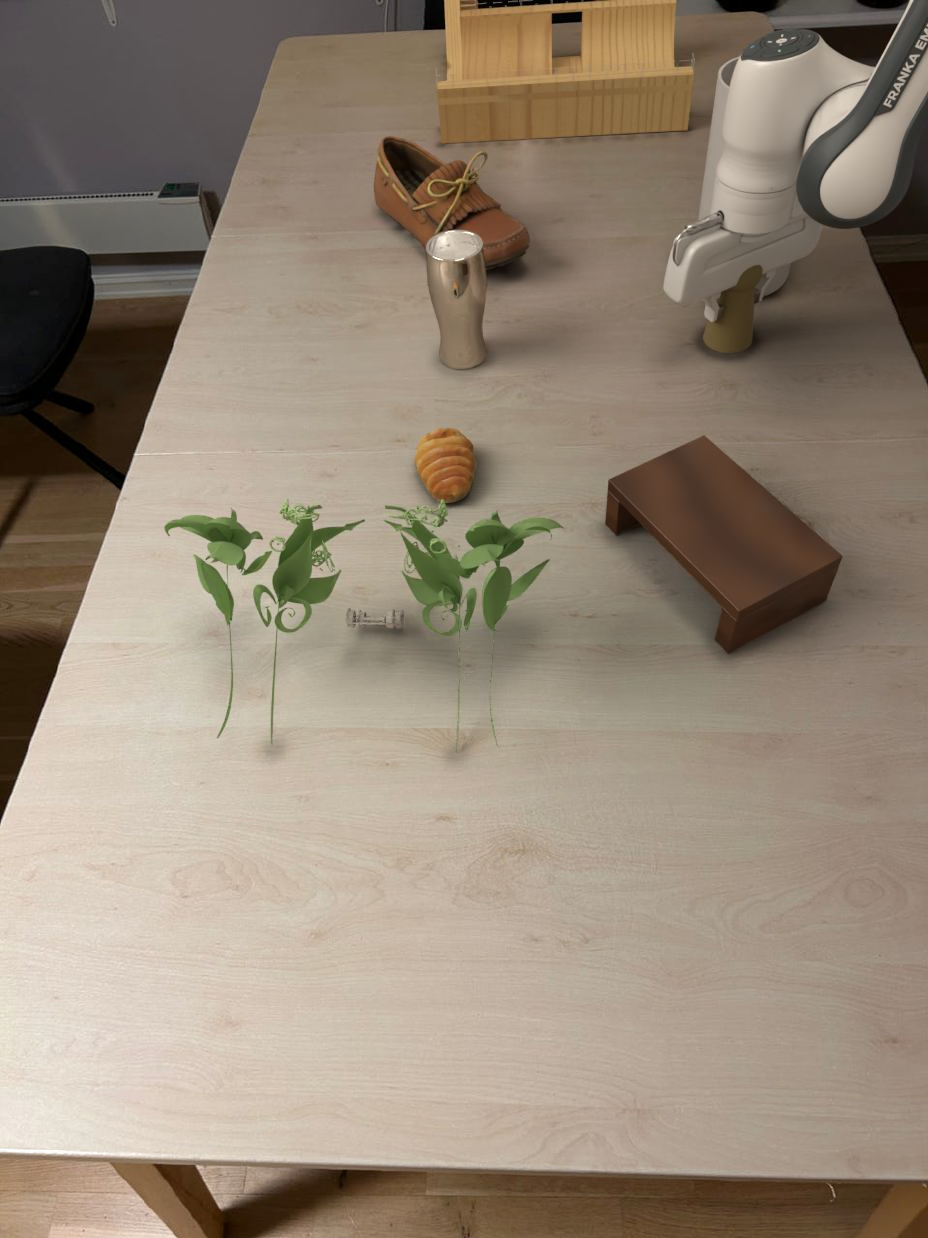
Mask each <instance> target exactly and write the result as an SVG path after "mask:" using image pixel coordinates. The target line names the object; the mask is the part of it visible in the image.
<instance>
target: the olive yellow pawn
mask: <svg viewBox="0 0 928 1238" xmlns="http://www.w3.org/2000/svg"><path fill="white" fill-rule="evenodd" d="M762 272H763V270H762V267H761V266H760V265H755V266H752V267H750V268H748V269H747V270H745V271H744V272H743V273H742V275H741V276H740V278H739V280H738V282H737V285H736V286H734V287H732V288H729V289H727V290H724V291H722V292H721V295H720V298H718V299H716V301H718V302H719V304H722V305H723V306H725V308H724V312H723V317H722V318H721V319H718V320H716V321H714V322H710V321H709V320H708V319H707V322H706V326H705V328H704V331H703V335H702V341H703V342H704V345H706V347H708V348H709V349H711V350H713V351H715V352H718V353H723V354H736V353H740V352H743V351H746V350H747V349H748V348H749V347H750V346H751V345H752V343H753V340H754V339H753V337H754V318H755V304H754V298H755V286H756V285H757V284H758V283H759V281H760V279H761V276H762Z"/></svg>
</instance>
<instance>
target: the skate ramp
mask: <svg viewBox="0 0 928 1238" xmlns="http://www.w3.org/2000/svg"><path fill="white" fill-rule="evenodd" d="M443 1H444V20H445V21H444V23H445V24H444V25H445V46H446V47H445V48H446V49H445V51H446V80H439V76H440V74H435V85H436V95H437V96H436V97H437V98H436V99H437V107H438V108H437V109H438V119H439V129H440V130H439V131H440V140H441V144H458V143H459V144H460V143H477V142H478V143H480V142H495V141H496V142H497V141H514V140H533V139H534V140H535V139H549V138H550V139H552V138H571V137H586V136H589V137H591V136H605V135H623V134H624V135H625V134H627V135H628V134H643V133H661V132H662V133H663V132H664V133H665V132H680V131H689V120H690V112H691V105H692V104H691V103H692V98H693V97H692V96H693V89H694V83H695V81H694V80H695V72H694V71H695V64H696V63H695V62H696V59H695V56H694V53H692V55H691V58H693V60H691V63H690V65H689V66H675V23H676V11H677V3H678V0H593V1H579V2H564V3H553V0H550V3H549V4H547V3H546V4H533V5H532V4H531V5H522V3H519V4H520V5H517V6H502V7H487V8H486V7H485V8H479V5H483V4H484V5H485V4H486V2H483V3H481V2H480V3H479V2H478V0H443ZM530 1H532V0H524V2H530ZM512 2H513V3H515V2H517V0H512V1H509V3H512ZM520 2H523V0H520ZM497 3H498V4H499V3H501V1H499V2H498V1H496V2H494V4H497ZM578 12H581V34H580V35H581V37H580V42H581V43H580V55H573V56H571V55H570V56H558V57H557V56H556V57H555V56H554V57H553V56H552V55H553V52H552V51H553V44H552V43H553V39H552V37H553V35H552V33H553V32H552V31H553V27H552V25H553V24H552V22H553V21H552V20H553V15H552V14H562V13H563V14H564V13H578ZM686 61H688V62H689V59H684V60H683V59H681V60H680V62H686ZM435 69H436V70H435V73H438V68H435Z"/></svg>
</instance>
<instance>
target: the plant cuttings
mask: <svg viewBox="0 0 928 1238" xmlns="http://www.w3.org/2000/svg"><path fill="white" fill-rule="evenodd" d="M415 507H416V509H414V508H409V509H405V508H403V507H400V506H395V505H386V504H385V505H384V508H385V510H395V511H400V512H403V513H402V514H399V515H397V514H391V513H388V514H387V517H389V518H394V519H398V520H399V519H400V520H405V523H406V525H407V526H403V525H402V524H400V523H395V522H392V521H389V520H386V519H383V522H384V523H386V524H388V525H390V526H391V527H392V528H394V529H395V531H396V532H400V535H401V538H402V540H403V541H402V542H403V543H404V545H405V548H406V554H405V557H404V560H403V568H404V571H405V572H404V571H403V570H401V571H400V572H401V573H402V575H403V578H404V579H405V581H406V583H407V585H408V587H409V589H410V591H411V593H412V595H413V597H414V598H415V599H416V601H417V602H418V603H420V604H422V605H424V607H423V608H422V610H421V619H422V621H423V623H424V624H425V626H426V627H427V628H428V630H430V631H431V632H433V633H434V634H436V635H438V636H441V637H450V636H453V635H456V634H457V633H458V683H457V684H458V687H457V688H458V689H457V693H458V694H457V727H456V746H455V747H456V748H455V753H457V751H458V741H459V730H460V729H459V727H460V697H461V695H460V689H461V687H460V686H461V685H460V684H461V629H462V627H464V629H465V631H466V632H467V631H468V630H469V628H470V624H471V619H472V617H473V614H474V611H475V608H476V604H477V598H478V593H477V589H476V587H471V588H470V589H468V590H467V592H466V594H465V596H464V597H463V600H462V596H463V584H462V582H461V580H460V577H461V578H463V579H467V580H468V579H470V578H471V576H472V575H473V574H474V573H475V574H476V573H477V571H478V569H479V567H480V566H481V565H482V566H483V567H486V564H487V563H489V562H493V561H494V563H495V566H496V567H494V568H493V569H491V570H490V571H489V573H488V574H487V575H486V577H485V579H484V582H483V586H482V593H481V606H482V613H483V619H484V623H485V624H486V627H487V628H488V629H489V630H491V631H493V635H495V634H496V633H499V631H498V630H497V628H496V625H497V624H498V623H499V621H500V620H501V619H502V618H503V617H504V615H505V614H506V612H507V610H508V608H509V607H508V602H511V601H514V600H516V599H518V598H520V597H521V596H522V595H523V594H524V593H525V592H526V591H527V590H528V589H529V588H530V587H531V585H532V584H533V583H534V582H535V581H536V579H537V578H538V576H539V575H540V574H541V572H542V571H543V570H544V568H545V567H546V566H547V564H548V563H549V562H550V561H551V559H550V558H548V559H546V560H544V561H542V562H541V563H539V564H538V565H535V566H534V567H533V568H531V569H530V570H528V571H527V572H526V573H524V574H522V575H521V576H520V577H519V578H517V579H516V580H515V581H514V582H513V578H512V573H511V570H510V569H509V567H507V566H504V565H502V566H501V563H502V559H505V558H506V557H509V556H510V555H512V554H515V553H516V552H517V551H518V550H520V549H521V548H522V547H523V545H524V543H525V540H524V539H526V538H529V537H532V536H535V535H538V534H540V533H544V532H547V533H550V539H549V540H550V541H552V537H553V535H552V532H551V531H552V530H555V529H562V530H563V529H564V526H563V525H562V524H560V523H559V522H557V521H556V520H554V519H551V518H548V517H530V518H526V519H523V520H520V521H518V522H516V523H514V524H512V525H511V526H509V528H508V527H507V526H506V525H505V524H503V522H502V521H501V518H500V515H499V510H496V511H495V512H493V513H492V514H491V515H490V518H486V519H481V520H479V521H477V522H476V523H475V524H473V525H472V526H471V527H469V529H468V530H467V531H466V533H465V534H464V535H465V536H464V537H465V540H466V542H467V543H468V545H469V546H470V547H472V549H470V550H468V551H466V552H465V553H464V554H463V555H462V556H461V557H460V560H459V558H458V556H457V554H455V557H453V556H452V554H451V552H450V550H449V548H448V546H447V543H446V542H445V540H443V539H440V538H439V537H438V536H436V535H435V534H434V529H432V530H431V531H430V530H429V529H428V528H427V527H426V526H425V525H429V526H430V525H431V526H432V527H434V528H440V527H442V526H443V525H445V522H446V523H448V519H447V518H446V517H447V516H449V512H448V509H447V505H446V503H444V500H443V499H442V501H441V503H440V504H438V507H437V508H435V509H432V508H431V506H429V505H427V504H424V505H422V506H421V507H419V506H418V505H416V506H415ZM426 508H427V509H428V510H427V509H426ZM321 509H323V507H322V505H321V504H315V505H312V506H310V504H309V505H307V507H305V506H304V505H302V504H300V503H299V504H296V505H294V507H292V508H291V507H290V505H289V498H286V499H285V502H284V503H283V504H282V507H281V509H280V510H279V514H280V515H281V518H282V520H283V519H284V520H285V521H290V523H291V524H293V525H295V526H296V528H295V529H293V532H292V533H291V535H290V536H289V537H288V538H287V540H286V539H285V537H283V536H275V537H272V538H271V539H270V540H269V547H270V549H271V550H268V551H265V552H264V554H262V555H260V556H258V557H257V558H255V559H254V560H253V561H252V562H251V563H250V565H249V566H248V567H247V569H246V568H245V565H246V562H247V561H246V560H247V555H246V551H245V550H246V549H248V547H249V546H250V544H251V543H252V540H260V541H261V540H262V541H263V540H264V538H263V536H262V534H261V532H260V531H258V530H255V531H252V532H250V531H248V530H247V529H246V527H244V526H243V525H242V524H241V523H240V522H239V521H238V515H237V512H236V510H234V509H233V508H232V507H230V510H231V513H230V517H229V516H228V517H227V516H220V517H216V518H213V517H211V516H208V515H201V514H190V515H186V516H183V517H181V518H177V519H172V520H170V521H168V522H167V523H166V524H165V525H164V531H165V533H166V534H167V536H168V537H171V534H169V531H170V530H171V529H176V528H180V529H183V530H185V531H188V532H190V533H192V534H194V535H197V536H199V537H201V538H203V539H205V540H208V543H207V546H206V547H207V551H208V553H209V554H208V555H207V556H206V557H205V560H204V559H202V558H201V557H200V556H198V555H197V554H193V557H194V559H195V563H196V564H195V565H196V570H197V575H198V579H199V581H200V584H201V587H202V588H203V589H204V590H205V592H206V593H208V594H210V595H211V596H212V598H213V600H214V601H215V605H216V607H217V609H218V610H219V611H220V612H221V613H222V614H223V616H224V619H225V622H226V627H229V630H231V621H232V622H233V615H234V607H235V600H234V596H233V594H232V592H231V589H230V587H229V579H228V577H229V573H228V572H229V566H236V569H237V570H240V573H241V576H247V575H250V574H254V573H257V572H259V571H260V570H261V569H263V567H264V566H265V564H266V562H267V561H268V560H269V558H270V557H271V555H272V553H273V551H274V552H277V553H280V554H279V558H278V563H277V568H276V569H275V571H274V572H273V575H272V580H271V581H272V583H271V585H272V588H273V590H274V593H275V595H276V597H277V600H276V598H275V596H274V594H273V592H272V591H271V590H270V589H269V588H268V586H266V585H263V584H260V583H259V584H256V585H255V586H254V587H253V591H252V596H253V602H254V605H255V607H256V610H257V612H258V614H259V616H260V618H261V621H262V623H263V624H264V626H265V627H266V628H268V627H269V626H270V624H271V623H272V613H271V611H270V609H269V608H270V606H269V605H268V606H264V609H266V616H267V619H266V618H265V617H264V615H263V612H262V608H261V598H262V595H263V594H264V593H265V594H267V595H268V596H269V597H270V598H271V599H272V601H273V603H274V604H275V605H278V606H277V613H276V615H275V616H274V625H275V627H276V630H275V631H276V632H275V648H274V658H273V672H272V687H271V704H270V705H271V706H270V745H273V733H274V731H273V730H274V729H273V728H274V705H275V704H274V703H275V685H276V683H275V682H276V679H275V678H276V665H277V664H276V663H277V661H276V660H277V647H278V645H277V643H278V630H279V631H280V632H282V633H286V634H292V633H295V632H297V631H299V630H300V629H302V628H304V626H305V625H306V624H307V623H308V622H309V620H310V618H311V617H312V612H313V608H312V606H311V605H317V604H321V603H323V602H325V601H326V600H328V599H329V597H330V596H331V595H332V592H333V590H334V588H335V586H336V584H337V581H338V579H339V577H340V575H341V573H342V569H338V570H339V571H338V572H336V573H335V574H333V575H330V576H329V575H328V576H324V577H311V576H312V572H313V567H315V568H316V567H317V568H318V567H320V566H322V565H323V564H324V563H326V566H327V568H328V570H329V572H330V573H333V572H335V571H336V569H335V567H336V566H335V564H334V562H333V560H332V558H331V556H332V552H330V551H329V550H328V548H327V545H326V543H328V542H329V541H330V540H332V539H333V538H335V537H336V536H338V535H339V534H341V533H343V532H345V531H353V530H354V528H356V527H357V526H358V525H360V524H362V523H364V522H366V519H364V518H363V519H361V520H358V521H355V522H351V523H345V524H344V525H343V526H325V527H321V528H317V529H314V522H316V521H318V520H319V518H320V513H316V512H314V511H316V510H321ZM411 512H413V514H412V513H411ZM301 513H304V514H301ZM418 514H424V515H423V516H422V517H421V518H418V517H417V516H416V515H418ZM427 514H430V515H433V516H435V517H434V518H433V520H431V521H430V522H428V521H427V520H429V518H428V516H427ZM409 522H410V523H409ZM435 522H436V523H435ZM424 524H425V525H424ZM410 526H411V527H410ZM402 532H405V533H406V534H408V535H409V536H411V537H412V538H414V539H415V540H417V541H418V542H419V543H421V545H422V546H423V548H424V549H425V550H426V551H423V550H421V549H420V547H419V545H418V544H419V543H418V542H417V541H413V542H411V541H410V540H409V539H408V538H407V537H406V536H405V535H404V534H403V533H402ZM275 541H276V542H277V543H276V545H277V546H279V545H280V543H282V545H283V546H282V548H281V549H276V548H275V547H274V546H273V543H274V542H275ZM320 547H322V550H320V549H318V548H320ZM460 547H461V545H460V544H458V545H457V548H460ZM319 553H320V554H319ZM409 557H410V560H411V561H410V563H409V561H408V560H409ZM209 559H212V560H211V561H210V563H207V562H206V561H207V560H209ZM328 560H329V561H328ZM217 562H219V563H221V564H224V565H226V581H225V580H224V579H223V576H222V575H221V573H220V571H218V570H217V568H215V567H214V566H213V565H211V564H213V563H217ZM329 562H330V565H329ZM316 563H317V564H316ZM406 565H407V568H408V570H407V568H406ZM412 566H414V568H413V570H412V571H410V569H411V567H412ZM330 567H331V568H330ZM319 570H320V571H321V572H323V571H324V570H323V569H322V568H321V567H320V568H319ZM415 570H416V572H417V574H418V575H419V576H420V578H418V577H417V578H416V577H412V576H409V575H408V574H412V573H414V572H415ZM512 582H513V583H512ZM465 599H466V609H464V611H465V612H466V613H465V615H464V620H463V621H462V617H461V607H462V605H463V603H464V601H465ZM461 601H462V602H461ZM288 603H294V604H297V605H298V604H299V605H302V606H303V607H304V610H305V613H304V616H303V619H302V620H301V622H300V623H299V624H298V625H297V626H296V627H294V628H287V627H286V626H285V624H284V623H283V620H282V616H283V614H284V612H285V611H286V610H288V607H285V605H287V604H288ZM450 605H452V608H449V607H448V606H450ZM283 607H284V608H283ZM438 607H445V608H446V609H448V611H449V613H451V614H452V615H453V616H454V620H455V621H454V625H453V627H452V628H451V629H449V630H447V631H445V632H443V631H439V630H437V629H436V628H435V626H434V625H433V623H432V621H431V616H430V615H431V612H432V610H433V609H434V608H438ZM281 608H282V609H281ZM279 609H281V610H279ZM289 609H290V610H292V611H293V615H292V614H291V613H290V612H288V613H287V614H288V615H289V616H290V618H293V617H294V616H296V611H295V610H294V609H293V608H292V607H289ZM357 611H358V612H357ZM357 611H356V610H352V609H351V608H347V609H346V614H345V622H344V624H346V626H347V628H355V627H356V625H357V627H358V628H366V627H367V626H386V628H389V629H395V628H396V629H403V628H404V623H405V619H404V618H405V614H404V613H405V612H404V610H400V611H395V608H393V609H391V610H387V612H386V615H382V617H371V616H370V615H367V612H366V611H362V609H358V610H357ZM457 611H458V613H457ZM446 612H447V610H444V611H443V612H442V613H441V615H440V618H441V619H442V621H445V620H446V619H447V617H448V616H444V618H443V614H444V613H446ZM495 632H496V633H495ZM494 646H495V637H493V640H492V649H494ZM229 647H230V648H229V649H230V690H229V691H230V693H229V699H228V703H227V704H228V705H227V709H226V713H225V717H224V720H223V723H222V725H221V727H220V730H219V732H218V734H217V736H216V739H219V738H220V736H221V735H222V733H223V731H224V729H225V727H226V724H227V722H228V719H229V717H230V713H231V709H232V703H233V693H234V692H233V691H234V665H233V649H232V648H233V647H232V632H231V631H229ZM491 651H492V653H491V662H490V663H491V664H490V678H489V714H490V715H489V716H490V723H491V729H492V733H493V734H492V735H493V737H494V740H495V743H496V747H497V748H499V744H498V741H497V737H496V732H495V727H494V719H493V712H492V698H491V697H492V696H491V694H492V693H491V691H492V676H493V675H492V673H493V659H494V650H491Z"/></svg>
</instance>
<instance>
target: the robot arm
mask: <svg viewBox="0 0 928 1238" xmlns="http://www.w3.org/2000/svg"><path fill="white" fill-rule="evenodd" d="M739 56H740V57H739ZM739 56H738V57H739V59H738V61H737V64H736V66H735V69H734V72H733V75H732V79H731V83H730V87H729V91H728V96H727V101H726V107H725V112H724V119H723V125H722V138H723V151H722V155H721V157H720V159H719V161H718V164H717V167H716V174H715V180H714V187H713V194H712V201H711V208H710V215H709V216H706V217H705V218H703V219H701V220H698V219H697V220H693V221H690V222H689V223H688V224H686V225H685V226H684V229H683V230H682V231H680V233H679V234H678V235H677V236H676V237H675V238H674V240H673V244H672V247H671V250H670V253H669V258H668V261H667V264H666V269H665V274H664V278H663V286H662V288H663V292H664V293H665V295H666V296H667V297H668V298H669V299H670V300H672V301H673V302H674V303H676V304H678V305H679V306H680V307H682V308H685V307H689V306H691V305H693V304H696V303H698V302H701V301H703V303H704V304H705V306H704V312H703V315H704V318H705V319H707V321H708V320H709V321H710V322H714V321H716V320H718V319H721V318H722V317H723V312H724V308H725V306H723V305H722V304H719V302H718V301H716V299H718V298H720V295H721V292H722V291H724V290H727V289H729V288H732V287H734V286H736V285H737V282H738V280H739V278H740V276H741V275H742V273H743V272H744V271H745V270H747V269H748V268H750V267H752V266H755V265H760V266H761V267H762V270H763V272H762V276H761V279H760V281H759V283H758V284H757V285H756V286H755V298H754V305H756V304H757V303H761V302H762V301H763V298H764V296H763V293H764V290H765V289H766V287H767V286H768V284H769V283H770V281H771V280H772V278H773V277H774V275H775V272H776V269H777V268H779V267H782V266H784V265H787V264H789V263H793V262H796V261H798V260H801V259H803V258H806V257H808V256H810V255H811V253H812V252H813V251H814V250H815V249H816V247H817V245H818V244H819V242H820V241H819V240H820V238H821V235H822V234H821V233H822V231H823V226H825V227H828V228H830V229H831V228H833V229H838V230H853V229H859V228H863V227H866V226H871V225H872V224H874V223H876V222H879V221H880V220H882V219H883V218H885V217H887V216H888V215H889V214H891V213H892V212H893V211H894V210H895V209H896V208H897V207H898V206H899V205H900V203H901V202H902V200H903V199H904V197H905V196H906V194H907V192H908V189H909V187H910V184H911V181H912V177H913V171H914V164H915V158H916V153H917V148H918V145H919V142H920V140H921V136H922V134H923V132H924V130H925V128H926V125H927V124H928V0H909V1H908V3H907V6H906V8H905V10H904V13H903V14H902V16H901V19H900V20H899V22H898V24H897V26H896V28H895V30H894V32H893V34H892V36H891V37H890V39H889V41H888V43H887V44H886V47H885V49H884V50H883V53H881V56H880V58H879V60H878V62H877V64H876V65H867V64H864V63H861V62H859V61H856V60H853V59H851V58H848V57H846V56H845V55H842V54H841V53H840V52H838V51H836V50H835V49H833V48H832V47H831V46H829V44H828V43H826V41H825V40H824V39H823V37H822V36H821V35H820V34H819V33H817V32H816V31H815V30H810V29H805V28H799V27H796V28H795V27H792V28H784V29H783V28H782V29H778V30H774V31H771V32H767V33H765V35H762V36H760V37H758V38H756V39H754V40H753V41H752V42H751V43H750V44H749V45H748V46H747V47H746V48H745V49H744V50H743V51H742V53H741V54H740V55H739Z"/></svg>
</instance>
